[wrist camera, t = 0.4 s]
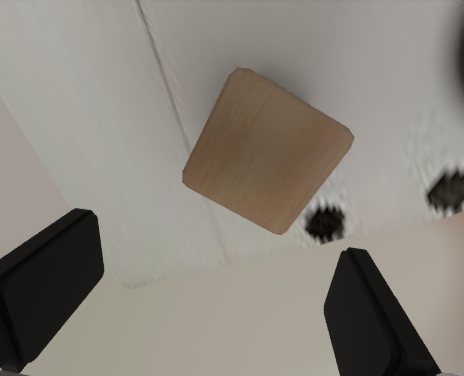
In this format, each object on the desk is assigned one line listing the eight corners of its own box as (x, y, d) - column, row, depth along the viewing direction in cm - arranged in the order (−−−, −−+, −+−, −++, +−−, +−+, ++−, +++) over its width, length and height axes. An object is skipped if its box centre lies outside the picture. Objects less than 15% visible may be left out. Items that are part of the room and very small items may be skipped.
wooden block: (216, 136, 38) (173, 185, 20) (249, 71, 34) (234, 59, 16) (273, 168, 39) (283, 243, 21) (312, 108, 35) (365, 138, 17)
